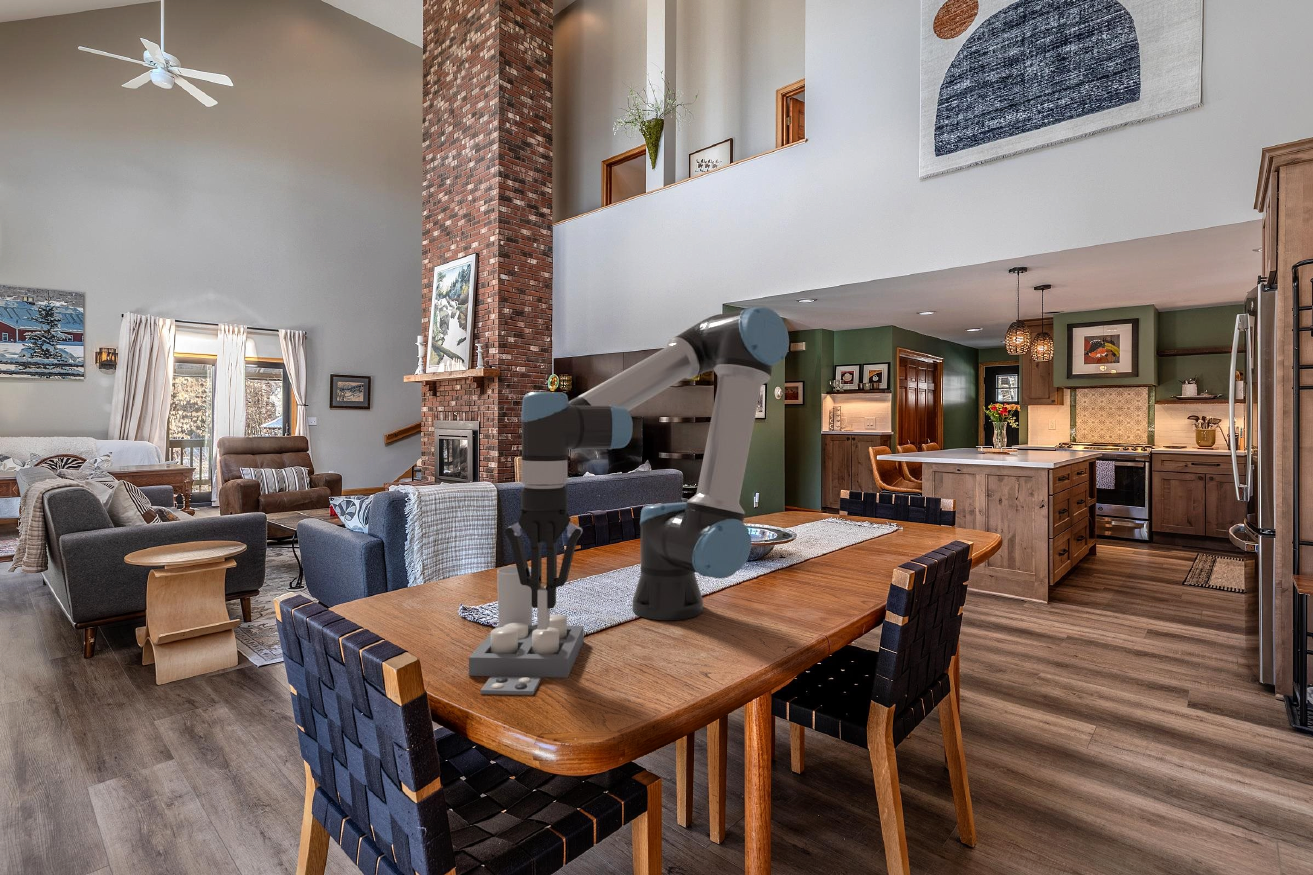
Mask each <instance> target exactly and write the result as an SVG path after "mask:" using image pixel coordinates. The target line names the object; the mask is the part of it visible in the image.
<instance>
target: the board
mask: <svg viewBox="0 0 1313 875" xmlns="http://www.w3.org/2000/svg"><path fill="white" fill-rule="evenodd" d="M503 626H505V625H499V624H497V625H496V626H495V628H494V629H496V628H500V627H503ZM584 626H585V625H567V639H559V654H532V632H533V631H534V630H536V629H537V625H536V624H535V625H534V624H532V625H528V637H527V638H526V639H518V651H517V652H516V654H500V653H491V632H490V633H489V634H488V635H487V637H485V639H484V640H483V641H482V642H481V643H480V644H479V645H478V647H477V648H476V649H475V650H474V651H473V653H471V654H470V655H469V657H468V676H469V677H491V676H494V677H541V678H562V679H563V678H565V679H566V678H567V679H568V678H569V676H570V673H571V671H572V669H573V666H574V665H575V662H576V660H577V657H578V655H579V653H580V651H581V649H582V646H583V644H584V641H585V639H584V636H585V635H584V634H585V633H584V632H585V629H584Z"/></svg>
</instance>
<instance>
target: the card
mask: <svg viewBox="0 0 1313 875" xmlns="http://www.w3.org/2000/svg"><path fill="white" fill-rule="evenodd" d="M541 678H542V677H505V676H489V678H488V679H487V681H485V683H484V685H483V686H482V687H481V689H480V695H509V696H510V695H515V696H516V695H517V696H519V695H521V696H533V695H534V694H535V692H536V691H537V689H538V687H539V685H540V683H541V681H542V679H541Z"/></svg>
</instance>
